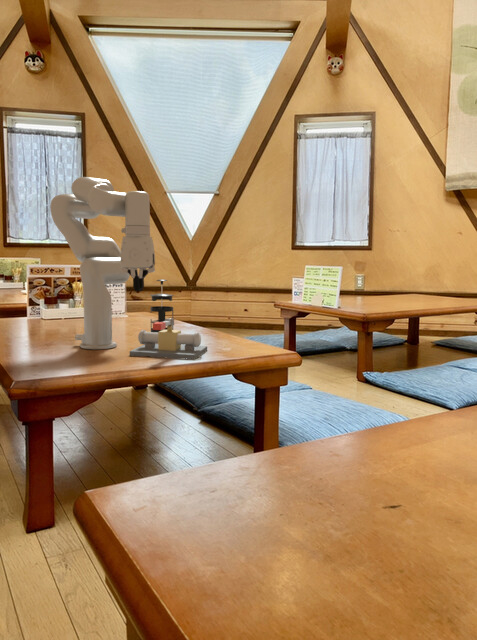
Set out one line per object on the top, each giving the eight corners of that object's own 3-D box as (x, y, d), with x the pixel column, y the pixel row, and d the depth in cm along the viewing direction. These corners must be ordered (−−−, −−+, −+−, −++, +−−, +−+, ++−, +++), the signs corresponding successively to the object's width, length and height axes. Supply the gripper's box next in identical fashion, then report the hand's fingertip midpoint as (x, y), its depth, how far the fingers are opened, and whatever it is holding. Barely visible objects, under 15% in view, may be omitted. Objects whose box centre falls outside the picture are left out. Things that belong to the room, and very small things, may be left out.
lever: (166, 324, 178) (166, 318, 178) (175, 324, 178) (175, 318, 178) (152, 329, 165) (152, 323, 165) (161, 330, 165) (161, 323, 165)
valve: (129, 355, 172) (129, 327, 171) (147, 347, 188) (147, 321, 187) (194, 359, 168) (194, 330, 167) (207, 350, 184) (207, 324, 182)
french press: (175, 339, 206) (175, 280, 203) (151, 339, 204) (150, 280, 201) (171, 334, 218) (171, 278, 215) (148, 334, 215) (148, 278, 212)
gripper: (110, 231, 162) (111, 291, 165) (156, 231, 159) (156, 292, 162) (120, 232, 170) (121, 289, 172) (164, 232, 167) (165, 290, 169)
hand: (138, 290), depth 167 cm, fingers closed
